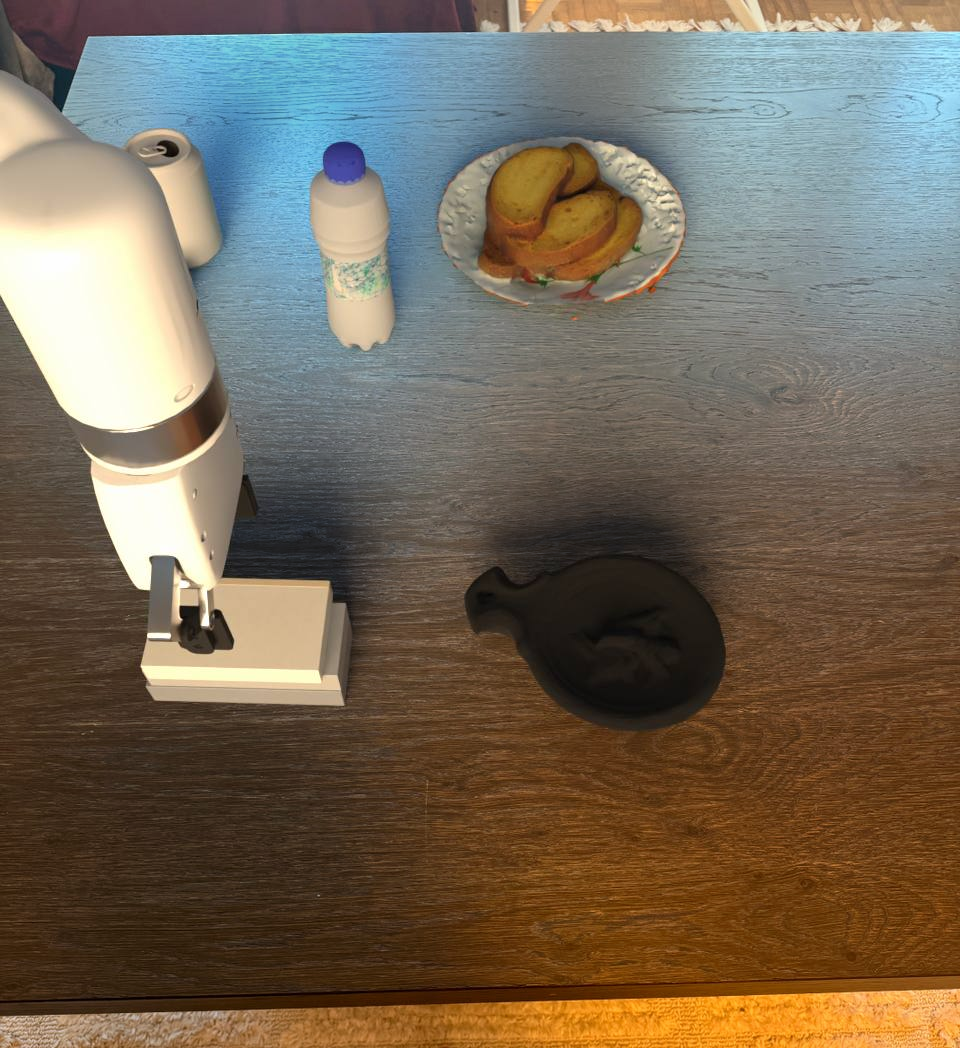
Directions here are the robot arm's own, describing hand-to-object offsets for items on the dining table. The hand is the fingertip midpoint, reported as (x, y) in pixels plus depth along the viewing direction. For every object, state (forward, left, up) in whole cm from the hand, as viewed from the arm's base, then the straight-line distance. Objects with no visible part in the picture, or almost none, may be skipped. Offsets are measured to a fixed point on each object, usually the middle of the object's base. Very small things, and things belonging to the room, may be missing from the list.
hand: (222, 576), depth 61 cm
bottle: (+5, +35, -14) cm, 38 cm away
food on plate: (+24, +50, -14) cm, 57 cm away
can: (-14, +46, -14) cm, 50 cm away
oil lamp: (+25, +2, -14) cm, 28 cm away
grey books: (0, 0, -13) cm, 13 cm away
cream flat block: (0, 0, -8) cm, 8 cm away
